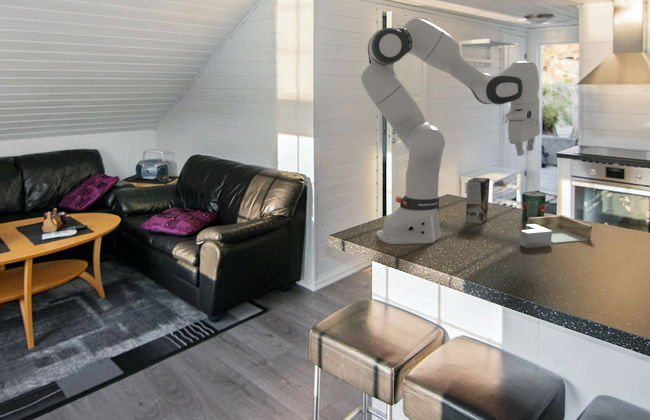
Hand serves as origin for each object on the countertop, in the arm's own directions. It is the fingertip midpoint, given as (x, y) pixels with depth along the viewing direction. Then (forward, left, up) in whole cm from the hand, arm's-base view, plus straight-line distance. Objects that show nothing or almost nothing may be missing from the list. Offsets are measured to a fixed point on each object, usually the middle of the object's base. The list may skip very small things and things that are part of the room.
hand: (525, 152), depth 175 cm
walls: (+11, -6, -29) cm, 31 cm away
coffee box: (-5, +21, -29) cm, 36 cm away
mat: (+11, -6, -29) cm, 31 cm away
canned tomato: (+14, +13, -29) cm, 35 cm away
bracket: (-3, -10, -29) cm, 30 cm away
